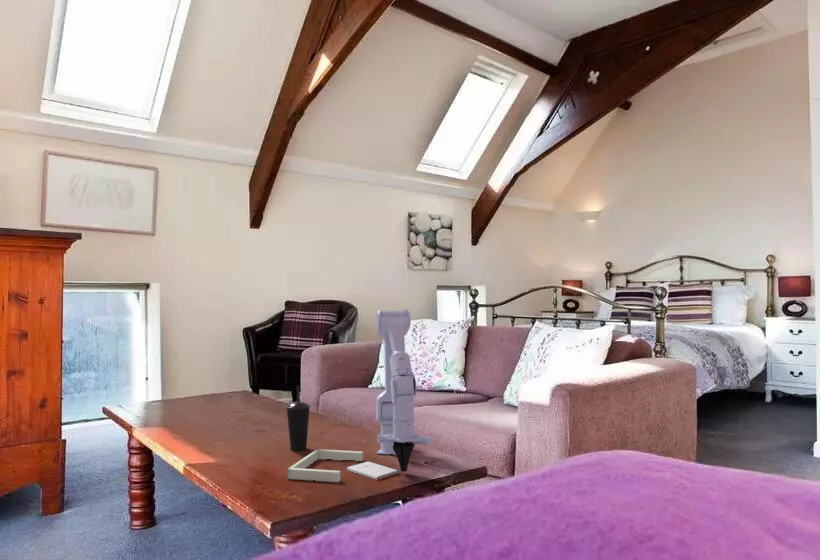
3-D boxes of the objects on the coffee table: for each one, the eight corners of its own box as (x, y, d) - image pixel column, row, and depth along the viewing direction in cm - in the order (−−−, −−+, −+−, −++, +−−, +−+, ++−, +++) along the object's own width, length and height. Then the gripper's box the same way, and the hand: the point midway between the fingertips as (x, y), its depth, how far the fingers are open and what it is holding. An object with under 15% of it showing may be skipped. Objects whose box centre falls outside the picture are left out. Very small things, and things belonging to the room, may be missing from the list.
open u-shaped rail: (317, 457, 178) (317, 449, 178) (363, 460, 175) (363, 451, 175) (287, 478, 158) (287, 469, 158) (338, 482, 155) (338, 472, 155)
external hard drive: (376, 483, 156) (346, 472, 165) (399, 476, 161) (369, 466, 170) (376, 476, 156) (346, 466, 165) (399, 469, 161) (369, 460, 170)
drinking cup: (286, 453, 183) (286, 387, 183) (285, 446, 190) (284, 384, 191) (312, 451, 185) (311, 386, 185) (309, 445, 192) (309, 383, 193)
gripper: (373, 421, 159) (374, 473, 159) (426, 424, 156) (427, 476, 155) (381, 416, 166) (381, 465, 166) (432, 418, 163) (432, 468, 162)
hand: (404, 470), depth 161 cm, fingers closed
